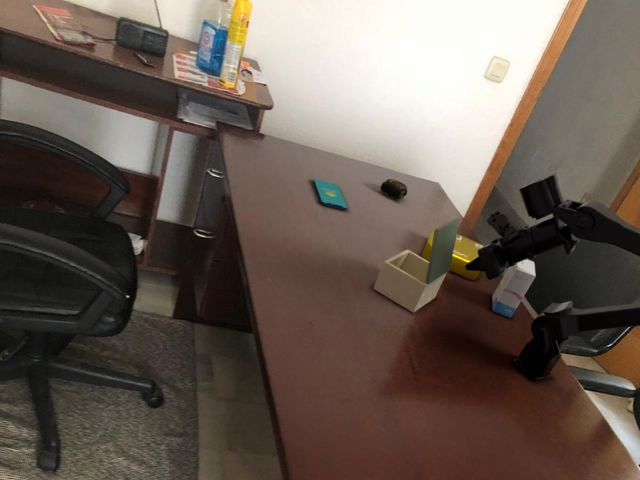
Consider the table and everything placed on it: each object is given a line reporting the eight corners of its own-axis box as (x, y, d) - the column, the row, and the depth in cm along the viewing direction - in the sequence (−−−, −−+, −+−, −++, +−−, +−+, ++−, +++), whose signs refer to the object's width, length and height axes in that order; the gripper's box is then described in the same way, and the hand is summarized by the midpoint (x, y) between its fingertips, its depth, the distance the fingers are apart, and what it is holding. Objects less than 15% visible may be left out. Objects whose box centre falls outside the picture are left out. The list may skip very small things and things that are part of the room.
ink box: (511, 319, 154) (537, 275, 147) (491, 311, 154) (516, 267, 147) (510, 303, 161) (535, 260, 154) (492, 295, 161) (515, 252, 153)
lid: (434, 228, 131) (438, 229, 131) (456, 218, 140) (459, 218, 139) (425, 283, 137) (428, 284, 137) (446, 270, 146) (449, 270, 145)
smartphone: (338, 184, 182) (348, 207, 171) (337, 186, 183) (347, 210, 172) (313, 178, 180) (321, 202, 169) (312, 181, 180) (321, 205, 170)
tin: (373, 288, 144) (384, 261, 140) (396, 275, 153) (407, 249, 149) (413, 312, 142) (425, 285, 137) (434, 298, 150) (447, 272, 146)
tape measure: (377, 192, 190) (382, 179, 188) (389, 189, 195) (393, 176, 193) (396, 203, 188) (401, 190, 186) (407, 199, 193) (412, 187, 190)
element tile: (419, 258, 164) (427, 241, 161) (429, 238, 176) (436, 222, 173) (474, 282, 163) (483, 266, 160) (481, 261, 175) (489, 245, 172)
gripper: (536, 191, 132) (467, 222, 142) (507, 207, 118) (433, 240, 128) (555, 243, 135) (486, 270, 145) (529, 265, 121) (454, 293, 131)
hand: (466, 267), depth 137 cm, fingers closed
